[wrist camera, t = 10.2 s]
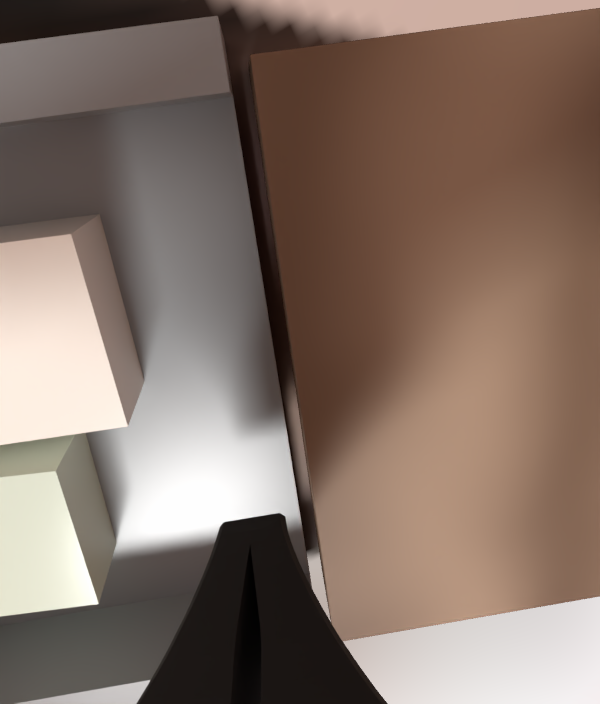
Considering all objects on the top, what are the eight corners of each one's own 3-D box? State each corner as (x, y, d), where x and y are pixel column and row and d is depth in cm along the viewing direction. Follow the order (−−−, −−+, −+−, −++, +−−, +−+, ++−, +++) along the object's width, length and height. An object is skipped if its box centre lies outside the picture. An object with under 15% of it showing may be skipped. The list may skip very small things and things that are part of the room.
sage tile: (-142, 493, 11) (-87, 438, 13) (-71, 625, 13) (-32, 561, 14) (56, 470, 11) (82, 420, 13) (98, 604, 13) (116, 543, 15)
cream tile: (-164, 264, 9) (-96, 238, 11) (-69, 455, 11) (-24, 405, 13) (71, 234, 9) (99, 213, 11) (127, 425, 11) (144, 381, 13)
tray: (224, 41, 10) (217, 15, 8) (311, 583, 17) (324, 675, 14) (-407, 124, 10) (-653, 128, 7) (-72, 648, 16) (-135, 756, 14)
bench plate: (906, -21, 11) (1077, -57, 9) (749, 497, 17) (826, 556, 15) (248, 66, 11) (250, 54, 8) (322, 569, 16) (334, 642, 14)
